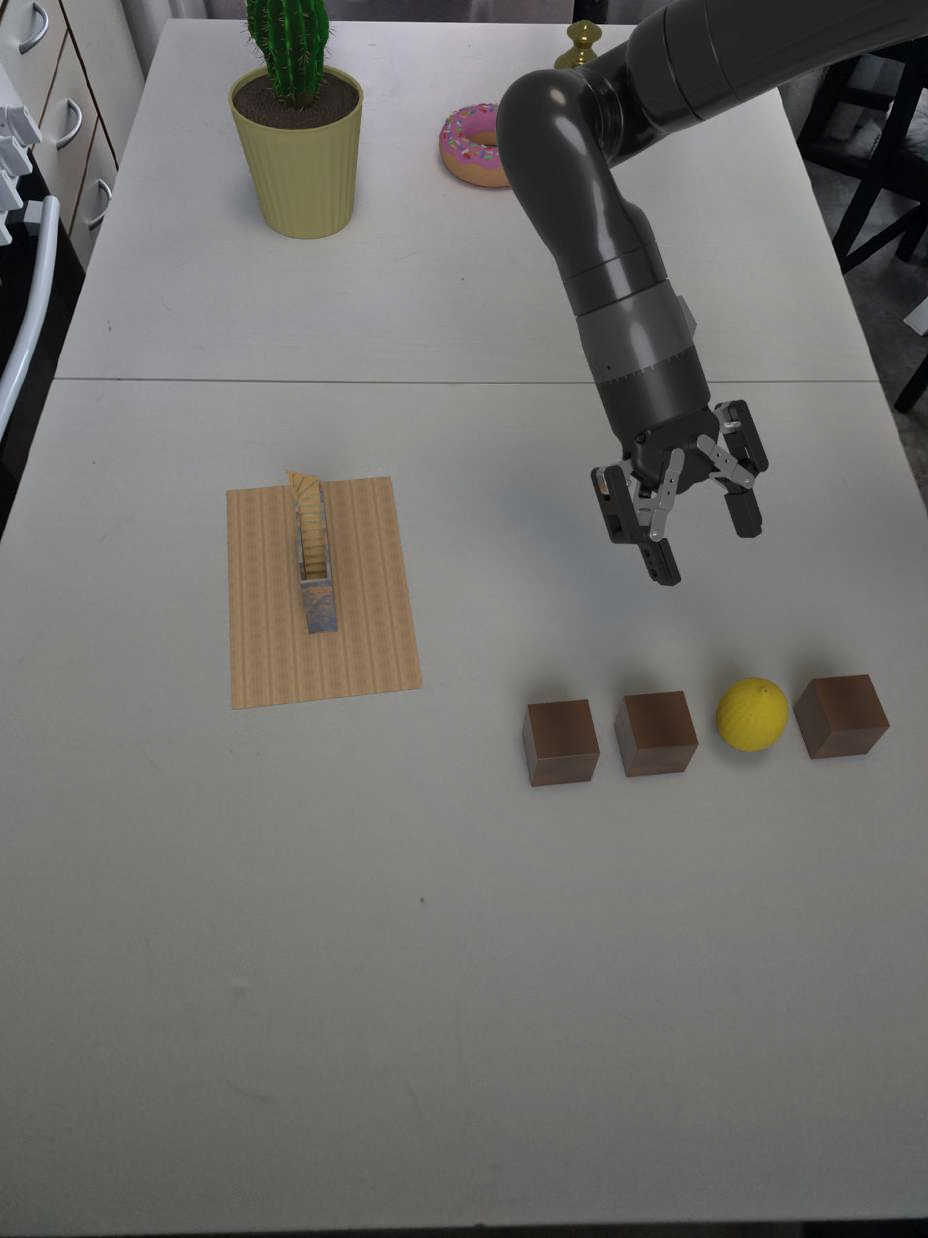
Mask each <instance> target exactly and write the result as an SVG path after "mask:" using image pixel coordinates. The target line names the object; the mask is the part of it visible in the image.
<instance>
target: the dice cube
mask: <svg viewBox="0 0 928 1238" xmlns="http://www.w3.org/2000/svg"><path fill="white" fill-rule="evenodd" d="M676 296H677V298H678V300H679V302H680V304H681V306H682V309H683V312H684V314H685V317H686V320H687V324H688V327H689V330H690V333H691V336H692V339H693V340H694V336H695V333H696V329H697V325H698V323H697V321H696V319H695V316H693V313H692V312H691V309H690V308H689V306H688V304H687V302H686V300H685V298H684V296H683V295H676Z"/></svg>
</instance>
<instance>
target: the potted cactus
mask: <svg viewBox="0 0 928 1238" xmlns="http://www.w3.org/2000/svg"><path fill="white" fill-rule="evenodd" d="M243 1H244V2H246V4H245V5H244V4H241V3H238V6H242V7H243V8H244V10H242V12H243V13H241V14H240V15H239V16H244V15H245V14H246V16H244V18H245V19H244V21H246V22H244V23H243V22H242V21H241V22H240V24H242V25H241V27H244V28H247V29H245V30H243V31H240V32H239V34H240V33H244V32H249V35H250V36H248V37H247V38H248V40H247V41H246V43H245V45H244V47H246V45H247V46H248V45H249V44H250V45H255V48H254V50H253V51H252V53H254V52H255V51H256V54H255V55H258V52H259V51H261V52H262V54H263V55H260V56H258V57H256V59H259V61H262V63H261V64H260V65H262V64H263V63H265V65H264V66H260V67H257V68H256V69H253V70H251V71H249V72H247V73H245V74H243V75H242V76H241V77H240V78H238V79H236V81H235V82H234V83H233V84H232V86H231V87H230V89H229V92H228V100H227V101H228V104H229V106H230V111H231V115H232V118H233V121H234V124H235V127H236V131H237V134H238V137H239V141H240V143H241V147H242V151H243V153H244V156H245V161H246V163H247V166H248V169H249V174H250V177H251V180H252V183H253V186H254V189H255V193H256V196H257V198H258V202H259V206H260V209H261V212H262V215H263V218H264V220H265V222H266V224H267V225H268V226H269V228H271V230H273V231H275V232H277V233H278V234H280V235H283V236H286V237H289V238H294V239H300V240H301V239H303V240H309V239H312V240H313V239H319V238H325V237H327V236H331V235H334V234H335V233H338V232H340V231H341V230H342V229H344V228H345V227H346V226H347V225H348V223H349V222H350V221H351V218H352V216H353V215H352V214H353V211H354V200H355V192H356V191H355V189H356V179H357V168H358V159H359V158H358V157H359V147H360V146H359V145H360V137H361V123H362V115H363V102H364V99H365V98H364V97H365V96H364V90H363V88H362V86H361V84H360V83H359V82H358V81H357V80H356V79H355V78H354V77H353V76H352V75H350V74H349V73H348V72H345V71H343V70H341V69H339V68H336V67H333V66H331V65H326V64H324V62H326V63H328V61H326V60H330V59H331V57H325V56H326V54H325V51H326V52H327V53H329V55H331V56H333V54H332V53H331V52H329V50H330V47H328V46H327V44H329V42H330V40H329V39H330V34H331V35H332V36H334V37H336V38H337V36H336V35H335V34H334V33H333V32H332V31H334V32H337V30H335V29H333V28H334V26H332V25H331V23H330V20H331V19H333V17H335V15H336V14H333V11H332V9H334V8H335V7H334V8H329V9H326V8H325V0H243ZM242 7H240V9H241V8H242ZM330 10H331V11H330ZM334 10H335V9H334ZM328 11H330V12H329V13H327V12H328ZM330 14H331V15H330ZM332 14H333V16H332ZM239 16H238V17H239ZM330 27H332V28H330ZM337 33H338V32H337ZM251 40H255V42H251ZM250 42H251V43H250ZM244 47H243V48H244ZM256 49H257V50H256ZM260 58H261V59H260ZM262 58H263V60H262Z"/></svg>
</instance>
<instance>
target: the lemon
mask: <svg viewBox="0 0 928 1238" xmlns="http://www.w3.org/2000/svg"><path fill="white" fill-rule="evenodd" d="M789 711H790V707H789V703H788V699H787V696H786V695H785V693H784V691H783V690H782V689H781V687H780V686H778V684H776V683H774V682H773V681H771V680H769V679H766V678H763V677H755V676H754V677H753V676H752V677H747V678H743V679H741V680H738V681H737V682H735V683H733V685H731V686H730V687H729V688H728V689H726V691H725V692H724V693H723V695H722V696H721V697H720V699H719V701H718V704H717V707H716V710H715V724H716V728H717V731H718V733H719V734H720V737H721V738H722V739H723V740H724V742H725V743H727V744H728V745H729V746H731V747H732V748H734V749H736V750H739V751H741V752H746V753H747V752H748V753H752V752H753V753H755V752H759V751H763V750H765V749H768V747H770V746H772V745H773V744H775V743H776V742H777V741H778V740H779V738H780V737H781V736H782V735H783V734H784V732H785V729H786V727H787V723H788V720H789Z"/></svg>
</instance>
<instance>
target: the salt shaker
mask: <svg viewBox="0 0 928 1238" xmlns="http://www.w3.org/2000/svg"><path fill="white" fill-rule="evenodd" d="M566 35H567V37H568V38H569V39H570V40H571V42H572V47H570V48H569V49H568V50H566V51H565V52H564V53H562V54H560V55H559V56H558V57H557V58H556V59H555V60H554V64H553V69H570V68H575V67H577V66H580V65H582V64H584V63H587V62H589V61H591V60H593V59H595V58H597V57H599V56H598V54H597V53H596V52H595V51H594V49H593V46H594V44H595V43H596V42H599V41H600V40H601V38H602V37H603V30H602V28H601V27H600V26H599V25H597V24H596V23H593V22H592V21H591V20H589V19H582V20H580V21H576V22H573V23H571V24H570V25H568V26H567V28H566Z"/></svg>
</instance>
